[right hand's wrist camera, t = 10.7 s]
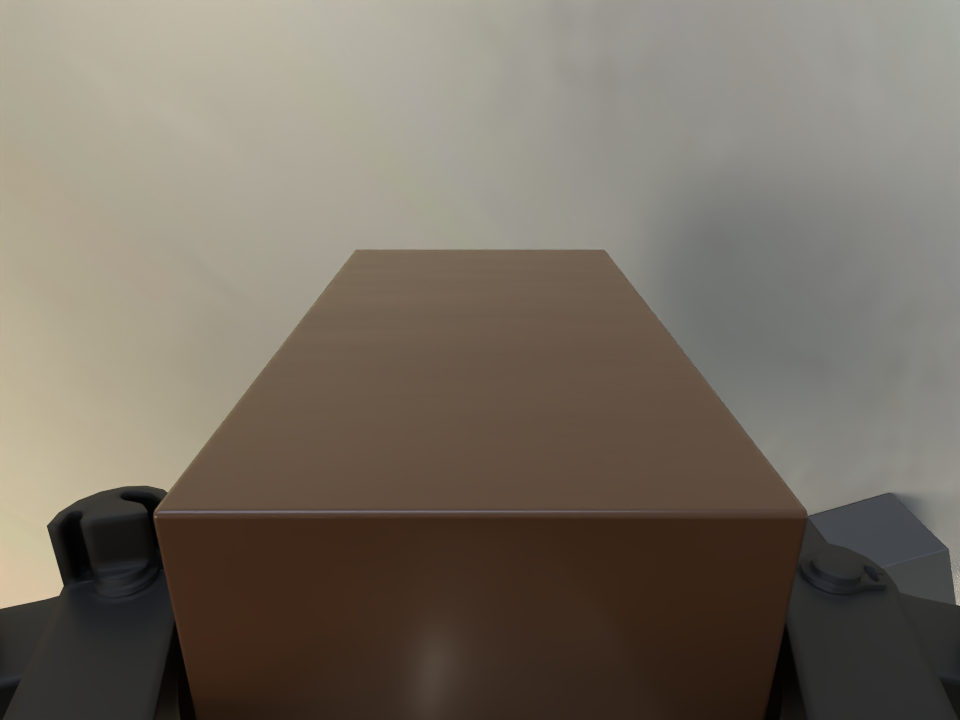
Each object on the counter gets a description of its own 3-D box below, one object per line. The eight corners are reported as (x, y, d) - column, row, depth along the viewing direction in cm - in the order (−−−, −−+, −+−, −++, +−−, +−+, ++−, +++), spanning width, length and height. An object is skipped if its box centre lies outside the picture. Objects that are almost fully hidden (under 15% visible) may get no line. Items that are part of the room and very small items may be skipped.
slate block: (816, 585, 32) (860, 650, 28) (801, 518, 30) (845, 577, 27) (902, 561, 31) (959, 624, 28) (890, 492, 30) (949, 549, 26)
